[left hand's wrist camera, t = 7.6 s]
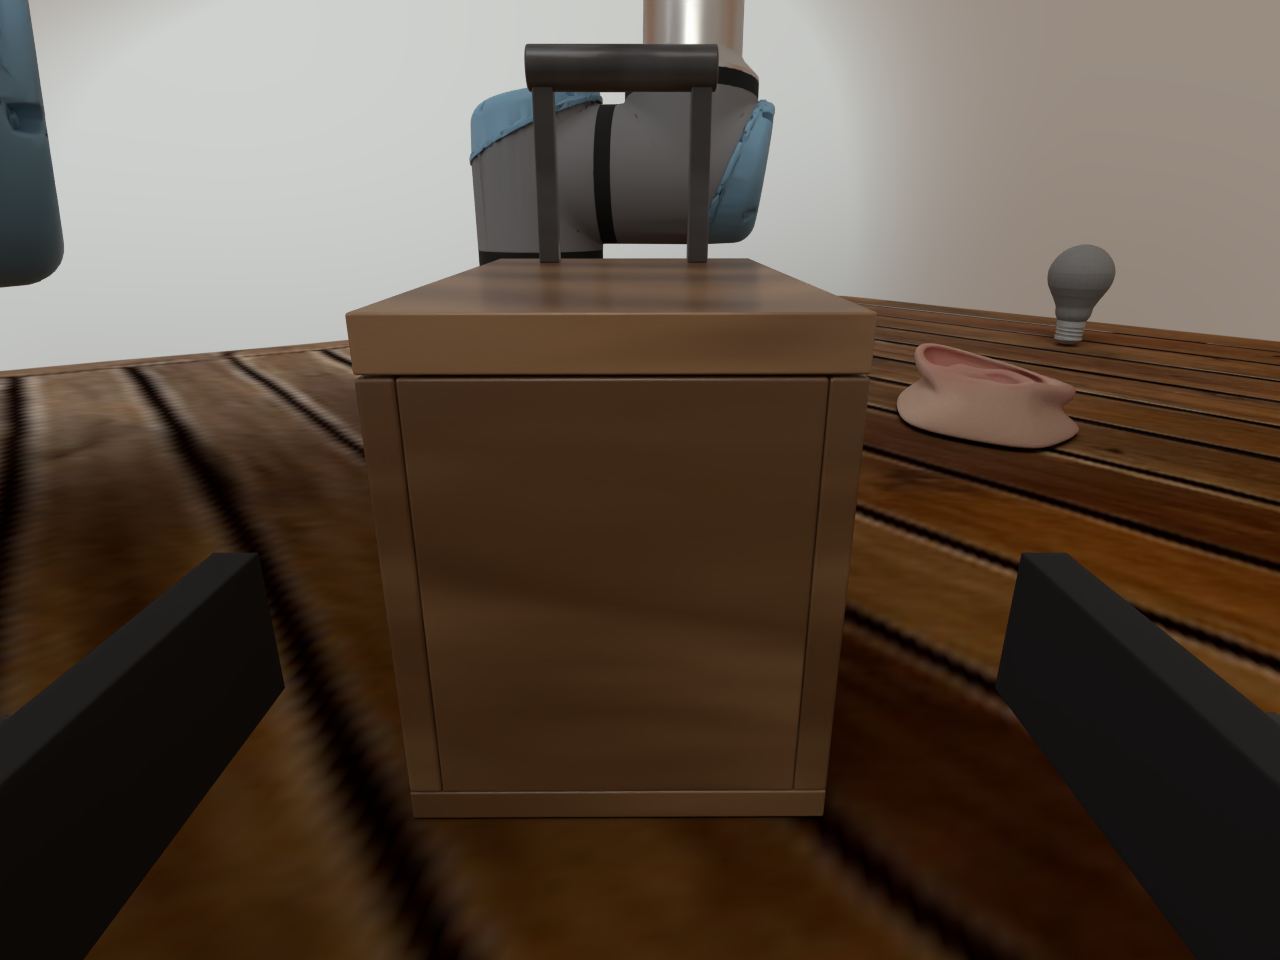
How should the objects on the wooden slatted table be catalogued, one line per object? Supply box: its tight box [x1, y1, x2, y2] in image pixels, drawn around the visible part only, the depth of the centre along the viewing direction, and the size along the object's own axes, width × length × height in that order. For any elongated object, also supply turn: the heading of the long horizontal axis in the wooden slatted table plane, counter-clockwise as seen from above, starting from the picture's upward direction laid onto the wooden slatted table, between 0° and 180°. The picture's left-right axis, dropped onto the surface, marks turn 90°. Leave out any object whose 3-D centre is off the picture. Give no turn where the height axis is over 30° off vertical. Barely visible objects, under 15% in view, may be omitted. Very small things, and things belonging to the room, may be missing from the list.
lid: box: [346, 44, 877, 375], centre depth 20 cm, size 16×10×8 cm, turn 0°
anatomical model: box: [897, 343, 1079, 449], centre depth 50 cm, size 13×4×12 cm
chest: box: [355, 374, 870, 818], centre depth 23 cm, size 15×10×11 cm, turn 0°
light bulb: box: [1048, 245, 1115, 344], centre depth 77 cm, size 6×6×10 cm
